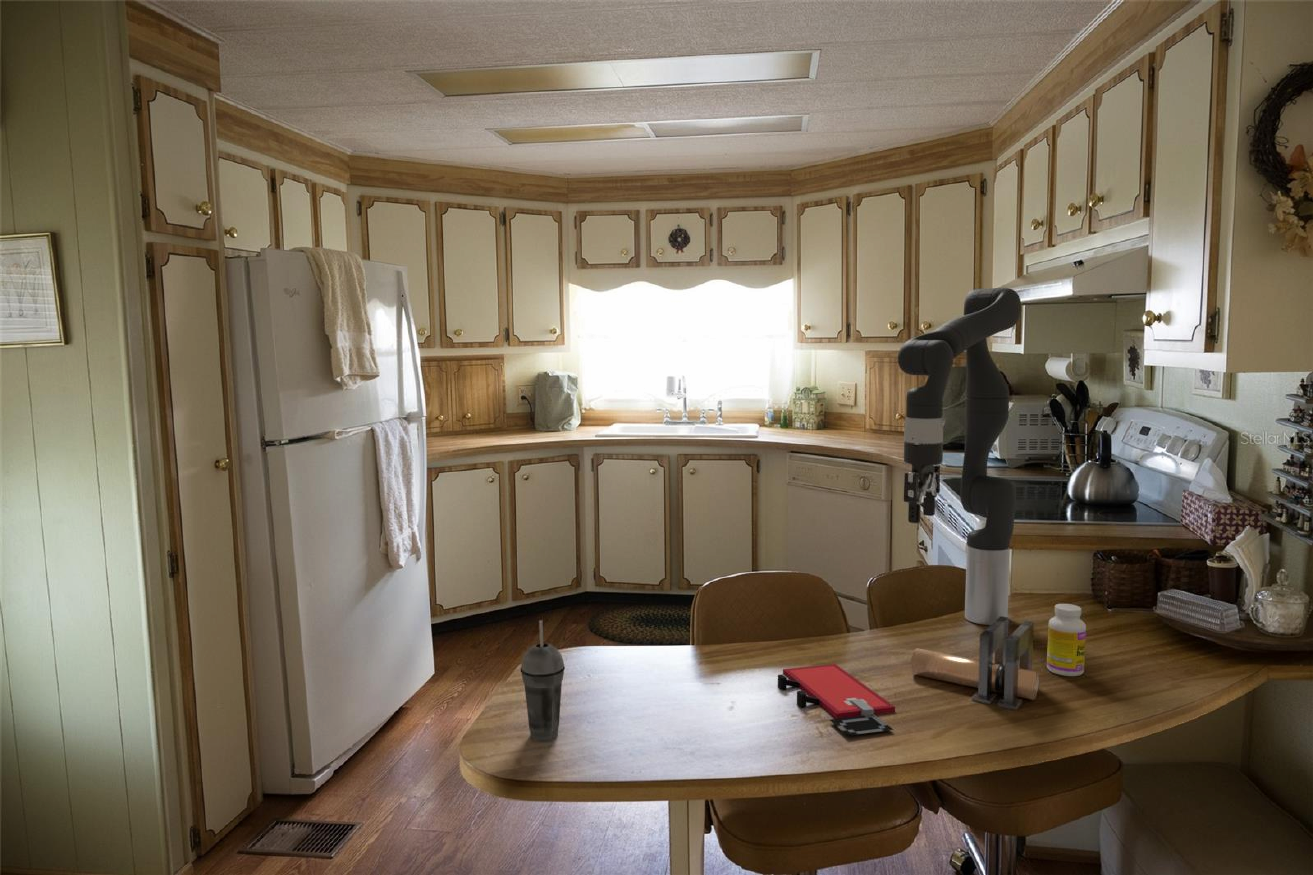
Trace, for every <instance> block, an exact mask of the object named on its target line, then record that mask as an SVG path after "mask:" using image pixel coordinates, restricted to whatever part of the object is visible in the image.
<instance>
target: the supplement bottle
mask: <svg viewBox="0 0 1313 875" xmlns="http://www.w3.org/2000/svg"><path fill="white" fill-rule="evenodd" d="M1054 613H1055V616H1052V617H1051V618H1050V619H1049V620H1048V625H1047V626H1048V627H1047V628H1048V631H1047V632H1048V634H1047V649H1046V650H1047V651H1046V653H1047V655H1046V667H1047V669H1048V671H1050V672H1051V673H1053V674H1056V675H1059V676H1064V677H1078V676H1081V675H1082V674H1084V672H1085V657H1086V640H1087V639H1086V638H1087V637H1086V636H1087V625H1086V624H1085V622H1084V621H1083V620H1082V619H1081V615H1082V608H1081V607H1080V606H1079V605H1076V604H1071V603H1058V604H1057V603H1056V604H1055V605H1054Z"/></svg>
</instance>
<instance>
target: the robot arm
mask: <svg viewBox="0 0 1313 875" xmlns="http://www.w3.org/2000/svg"><path fill="white" fill-rule="evenodd" d="M1021 313H1022V302H1021V298H1020V295H1019V293H1018V292H1017V291H1016V290H1014V289H1012V288H1008V287H992V288H975V289H972V290H970V291H969V292H968V293H967V295H966V296H965V300H964V304H963V315H961V316H957V317H956V318H953V319H950V320H949V321H947V322H945V323H944V324H942V325H940V326H939V327H937V328H935V330H933V331H930V332H926V333H923V334H920V335H918V336H915V337H912V338H910V339H908V340H907V341H905V342H904V344H902V346H901V347H900V349H899V351H898V353H897V364H898V367H899V369H900V370H901V372H903V373H905V374H906V375H910V376H927V380H926V382H925V383H924V385H921V386H918V387H913V388H911V389H909V390H908V391H907V393H906V399H905V400H906V401H905V404H906V405H905V421H904V422H905V423H904V430H903V432H904V434H903V435H904V436H903V461H904V463H905V464H908V465H911V470H910V471H905V472H904V481H903V482H904V483H903V485H904V486H903V502H904V503H907V504H908V514H907V515H908V516H907V517H908V518H907V519H908V522H909V523H911V524H919V523H920V522H921V503H922V504H923V505H922V508H923V509H922V513H923V515H924V516H929V517H933V516H935V514H936V498H937V496H938V494H939V493H940V492H941V488H940V487H941V483H940V482H941V464H942V463H943V458H944V456H943V455H944V454H943V453H944V449H943V448H944V424H943V407H944V406H943V405H944V404H943V403H944V402H943V400H944V395H945V390H946V387H947V383H948V380H949V377H950V374H951V371H952V368H953V363H954V359H955V358H957V357H958V356H960V355H962V353H964V352H965V353H966V354H965V355H966V358H965V359H966V361H965V362H966V372H965V373H966V375H965V376H966V377H965V378H966V379H965V380H966V382H965V383H966V384H965V400H964V401H965V404H964V405H965V406H964V407H965V408H964V410H965V411H964V412H965V413H964V414H965V430H964V431H965V434H964V436H965V438H964V452H963V453H964V455H963V461H962V462H963V463H962V471H961V472H962V473H961V477H960V478H961V481H960V490H959V491H960V494H959V496H960V503H961V506H962V508H963V510H964V511H965V512H966V513H969V514H971V515H976V516H980V517H981V516H982V517H986V519H985V525H984V527H982V528H979V529H975V530H971V531H969V532H968V533H967V538H966V564H965V598H964V618H965V619H966V620H967V621H969V622H971V623H975V624H978V625H987V626H990V625H991V624H993V623H994V622H995V621H996V620H997V619H998V618H999V617H1000V616H1002V617H1008V611H1009V610H1008V607H1009V580H1010V552H1011V551H1010V548H1011V540H1012V537H1013V533H1014V526H1015V525H1014V524H1015V514H1016V513H1015V512H1016V504H1017V503H1016V502H1017V494H1016V488H1015V486H1014V485H1015V484H1014V483H1013V482H1012V481H1011V480H1010V479H1008V478H1004V477H999V476H992V475H988V461H989V456H990V452H991V450H992V448H993V446H994V444H995V443H996V441H997V440H998V438H999V437H1000V435H1001V434H1002V432H1003V431H1004V429H1005V427H1006V424H1007V423H1008V421H1009V416H1010V414H1009V413H1010V412H1009V411H1010V390H1009V386H1008V383H1007V381H1006V380H1005V378H1004V376H1003V375H1002V373H1001V371H1000V369H999V368H998V366H997V365H996V363H995V362H994V360H993V358H992V356H991V354H990V351H989V347H988V346H989V345H988V341H987V338H990V337H991V336H994V335H996V334H998V333H1000V332H1004V331H1007V330H1009V329H1011V328H1013V327H1014V326H1015V325H1016V324H1017V323H1018V321H1019V319H1020V318H1021ZM922 499H923V502H922Z"/></svg>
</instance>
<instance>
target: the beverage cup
mask: <svg viewBox="0 0 1313 875" xmlns="http://www.w3.org/2000/svg"><path fill="white" fill-rule="evenodd" d="M538 623H539V624H538V625H539V627H538V628H539V643H537V644H534V645H533V646H531V647H529V649H527V651H526V652H525V653H524V654H523V657H522V660H521V664H520V665H521V666H520V673H521V677H522V683H523V684H524V694H525V702H526V710H527V711H526V712H527V719H528V728H529V734H530V738H531V740H533V741H535V742H541V743H543V742H549V741H553V740H555V739H557V738H558V735H559V727H560V717H561V715H560V713H561V700H562V698H561V697H562V682H563V679H564V672H565V669H566V668H565V663H564V659H563V655H562V653H561V652H560V651H559V649H558V648H557V647H555V646H554V645H552V644H550V643H545V642H544V629H543V627H544V626H543V620H542V619H540V620H539V621H538Z"/></svg>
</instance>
